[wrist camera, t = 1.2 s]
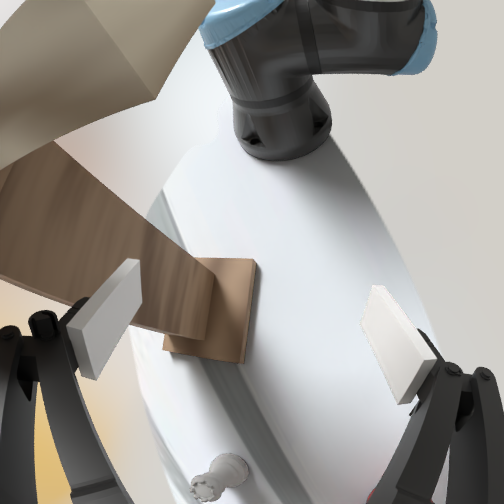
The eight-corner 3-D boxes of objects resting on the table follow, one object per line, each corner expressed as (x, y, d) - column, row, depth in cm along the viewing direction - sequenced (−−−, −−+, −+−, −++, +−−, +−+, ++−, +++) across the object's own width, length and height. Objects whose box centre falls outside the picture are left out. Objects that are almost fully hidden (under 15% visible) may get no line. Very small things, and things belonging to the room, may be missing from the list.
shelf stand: (256, 262, 35) (77, 41, 9) (243, 363, 31) (-59, 302, 5) (184, 261, 38) (-4, 109, 12) (168, 350, 34) (-78, 277, 8)
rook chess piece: (248, 486, 25) (223, 514, 18) (212, 479, 26) (180, 502, 19) (251, 455, 27) (225, 478, 20) (214, 449, 28) (180, 467, 21)
